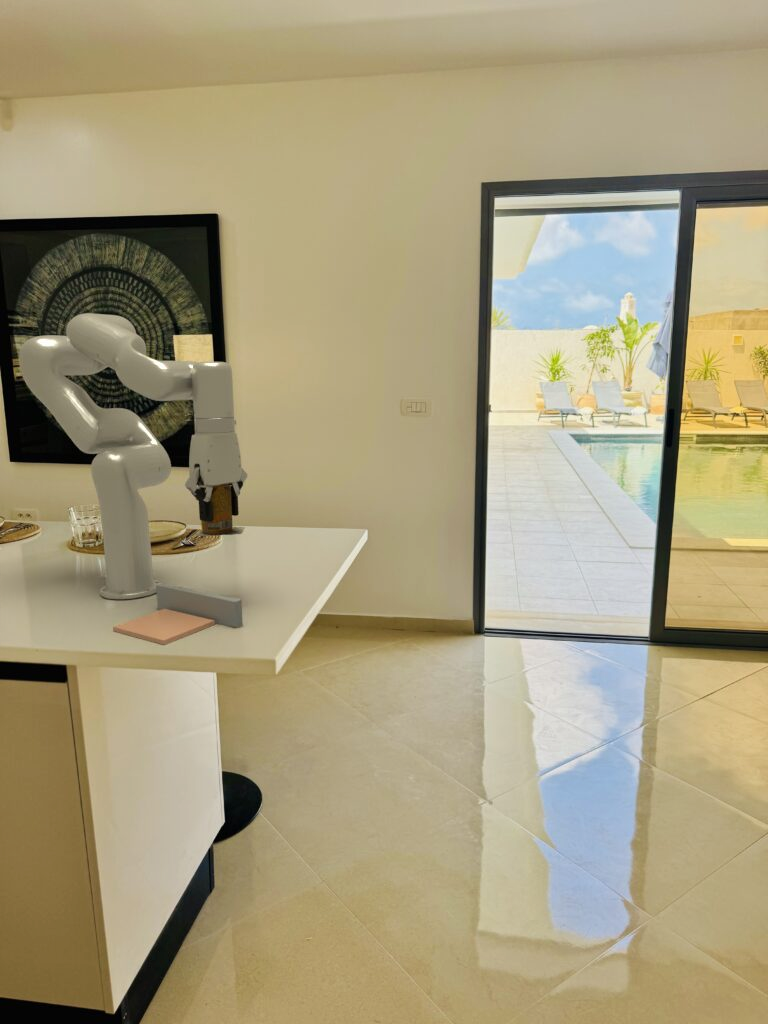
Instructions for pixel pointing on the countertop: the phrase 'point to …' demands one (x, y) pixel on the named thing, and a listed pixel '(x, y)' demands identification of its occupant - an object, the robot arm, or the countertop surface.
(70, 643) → the countertop surface
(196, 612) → the low wall
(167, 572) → the countertop surface
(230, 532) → the condiment
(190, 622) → the tile pad
